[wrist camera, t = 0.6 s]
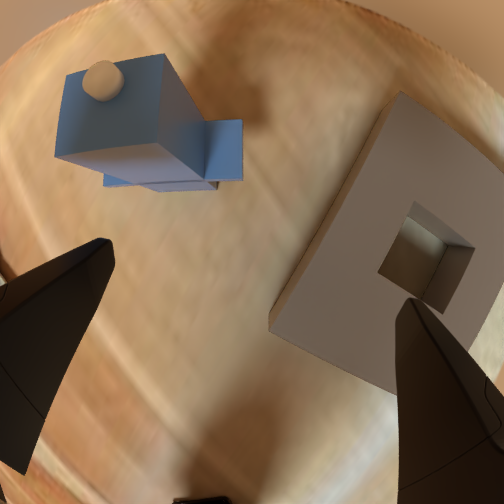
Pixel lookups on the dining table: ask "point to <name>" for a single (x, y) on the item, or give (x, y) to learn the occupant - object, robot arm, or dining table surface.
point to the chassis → (382, 237)
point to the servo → (145, 129)
